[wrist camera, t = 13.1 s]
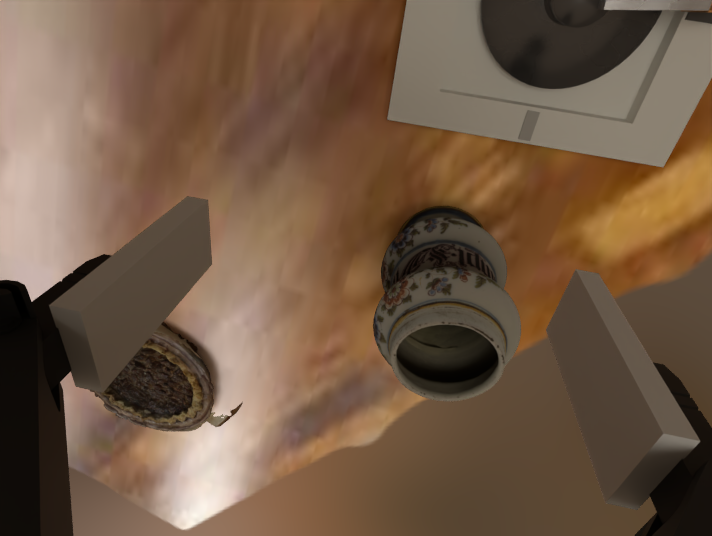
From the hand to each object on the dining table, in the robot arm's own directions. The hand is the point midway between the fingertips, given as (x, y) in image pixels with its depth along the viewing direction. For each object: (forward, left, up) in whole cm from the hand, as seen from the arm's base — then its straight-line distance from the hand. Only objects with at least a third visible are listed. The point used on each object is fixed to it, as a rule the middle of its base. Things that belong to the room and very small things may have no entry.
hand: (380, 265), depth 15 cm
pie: (+42, -30, -29) cm, 60 cm away
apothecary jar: (+14, +6, -29) cm, 33 cm away
